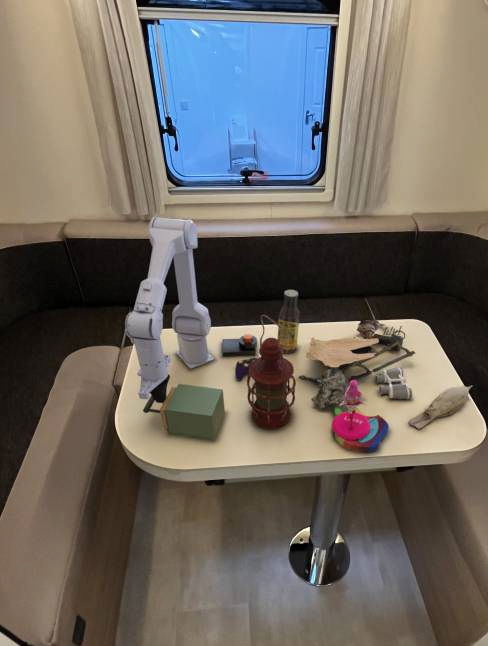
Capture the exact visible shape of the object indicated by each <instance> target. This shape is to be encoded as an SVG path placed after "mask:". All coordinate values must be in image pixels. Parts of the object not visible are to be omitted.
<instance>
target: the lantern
mask: <svg viewBox="0 0 488 646" xmlns="http://www.w3.org/2000/svg"><path fill="white" fill-rule="evenodd" d="M263 318H266V319H267V320H269V321H270V322H272V323H273V324H274V325H276V326H277V328H278V327H279V328H280V330H281V336H282V333H283V331H282V329H281V327H280V325H279V323H277V322H276V321H275V320H274V319H272V318H271V317H269V316H268V315H266V314H262V315H260V323H261V327H262V334H261V336H260V338H259V349H258V355H259V354H260V356H261V357H259V356H258V357H259V358H258V357H256V358H257V359H256V360H254V361H253V362H252V363H251V365H250V366H249V370H248V374H247V377H246V385H247V402H248V405H250V407H251V409H252V410H251V415H250V417H251V420H252V421H253V423H254V424H255V426H258V427H259V428H261V429H265V430H278V429H281V428H283V427H284V426H286V425H287V424H289V422H290V420H291V418H292V412H291V407H292V406H293V405H294V404H295V401H296V395H295V393H296V385H297V381H296V378H295V376H294V373H295V368H294V365H293V363H292V362H291V361H290V360H289V359H288V358H285V357H284V354H285V353H284V349H283V347H282V345H281V343H280V339H281V336H280V338H279V340H277V339H278V338H277V337H267V338H265V339H264V340H263V337H264V335H265V330H266V329H265V326H264V321H263ZM251 379H252V380H254V383H253V384H252V387H251V385H250V383H251V382H250V380H251ZM290 380H292V386H290ZM290 394H291V396H292V398H291V402H290V403H289V402H288V396H289V395H290ZM254 396H255V397H254Z"/></svg>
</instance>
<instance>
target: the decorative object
mask: <svg viewBox="0 0 488 646" xmlns="http://www.w3.org/2000/svg"><path fill="white" fill-rule="evenodd" d="M352 410H353V407H352ZM333 412H334V413H333V416H334V418H335V417H336V416H337V415H339V414H341V413H343V411H342V409H340V408H339V407H337V406H335V407H334V411H333ZM347 412H349V410H348V411H347ZM356 412H357V413H360V414H362V413H361V412H360V410H359V407H358V406H356ZM362 415H363V416H365V417H366V418H367V419H368V421H369V423H370V431H369V433H368V434H367V435H366V436H365V437H363V438H361V439H357V440H348V439H344V438H341V437H339V436H338V435H336V434H335V433H334V439H335V440H336V442H337V443H338V444H339V445H340V446H342V447H343V448H344V449H346V450H348V451H351V452H354V453H361V454H371V453H374V452H377V451H378V450H379V446H380V443H381V441H382V440H383V439H384V438H385V437H386V436H387V435H388V431H389V427H390V425H389V423H388V422H387V421H386V420H385V419H384V417H382V416H381V415H379V414H376V415H374V416H373V415H371V416H369V415H365V414H362Z"/></svg>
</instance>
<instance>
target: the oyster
mask: <svg viewBox="0 0 488 646" xmlns="http://www.w3.org/2000/svg"><path fill="white" fill-rule="evenodd" d="M379 326H380V327H387V324H385V323H380V322H379V320H377V319H375V318H374V319H373V318H372V319H371V318H370V319H368V320H366V319H361V320H360V321H359V323H358V324H357V328H356V331H357V332H358V333H359V334H360V335H362V336H363V339H372V338H373V335H374V334H376V332H377V331H378V330H379V329H380V327H379ZM366 337H367V338H366Z"/></svg>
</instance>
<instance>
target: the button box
mask: <svg viewBox="0 0 488 646" xmlns="http://www.w3.org/2000/svg"><path fill="white" fill-rule="evenodd" d="M221 341H222V343H221V345H222V346H221V347H222V348H221V354H222V358H223V357H224V358H226V357H250V356H251V357H252V356H256V348H257V346H258V338H257V337H256V336H255V335H252V342H251V343H245V342H244V335H242V336H240V337H239V338H222V340H221Z"/></svg>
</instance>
